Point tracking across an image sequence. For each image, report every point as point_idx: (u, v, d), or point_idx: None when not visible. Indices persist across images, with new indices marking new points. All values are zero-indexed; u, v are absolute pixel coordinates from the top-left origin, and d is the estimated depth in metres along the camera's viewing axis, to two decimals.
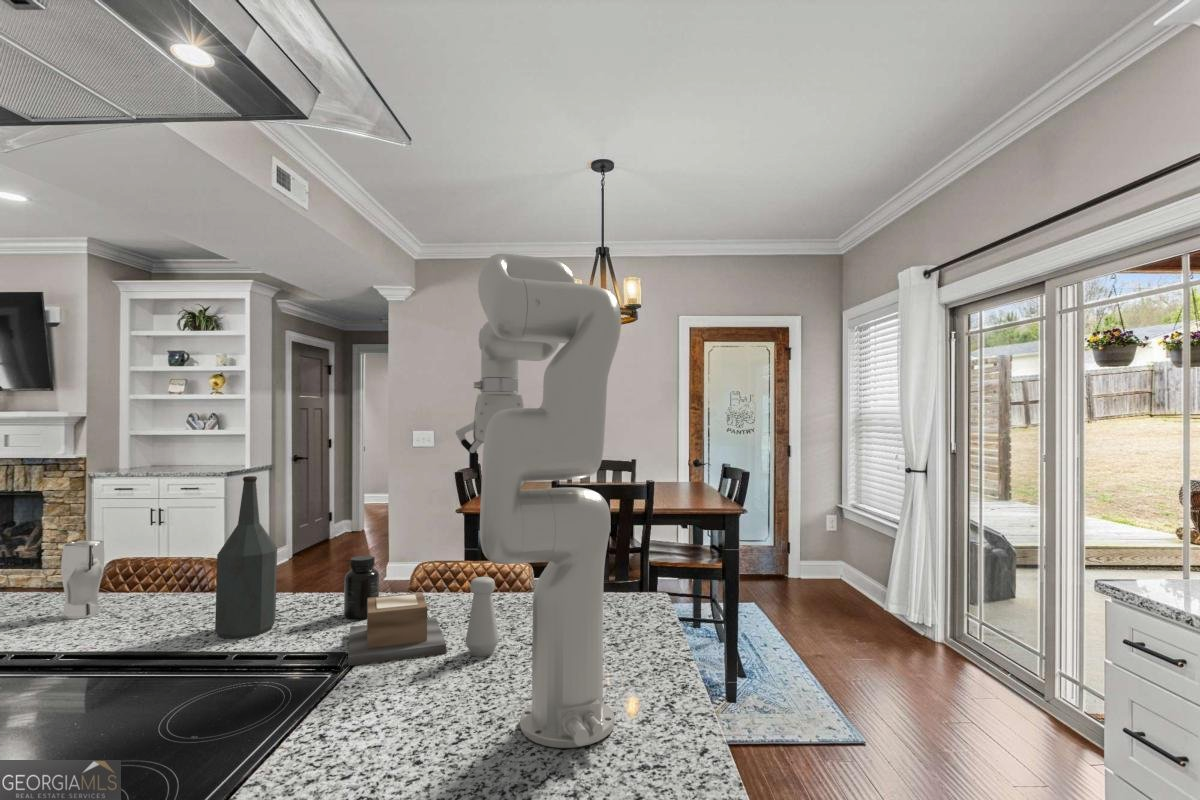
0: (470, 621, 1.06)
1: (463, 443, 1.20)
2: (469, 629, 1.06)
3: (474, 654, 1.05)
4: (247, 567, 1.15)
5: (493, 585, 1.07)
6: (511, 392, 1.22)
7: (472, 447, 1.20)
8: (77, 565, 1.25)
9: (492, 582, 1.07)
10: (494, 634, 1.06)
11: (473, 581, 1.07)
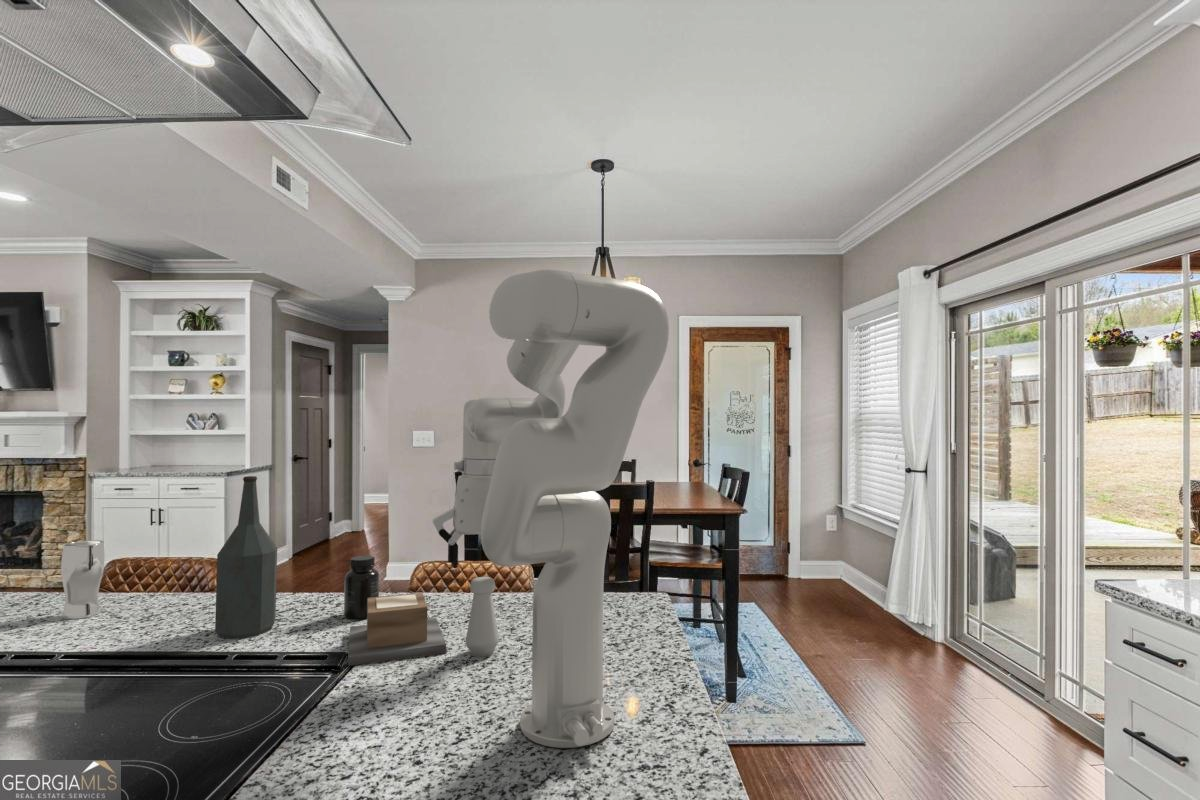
0: (470, 621, 1.06)
1: (441, 534, 1.05)
2: (469, 629, 1.06)
3: (474, 654, 1.05)
4: (247, 567, 1.15)
5: (493, 585, 1.07)
6: None
7: (451, 538, 1.05)
8: (77, 565, 1.25)
9: (492, 582, 1.07)
10: (494, 634, 1.06)
11: (473, 581, 1.07)
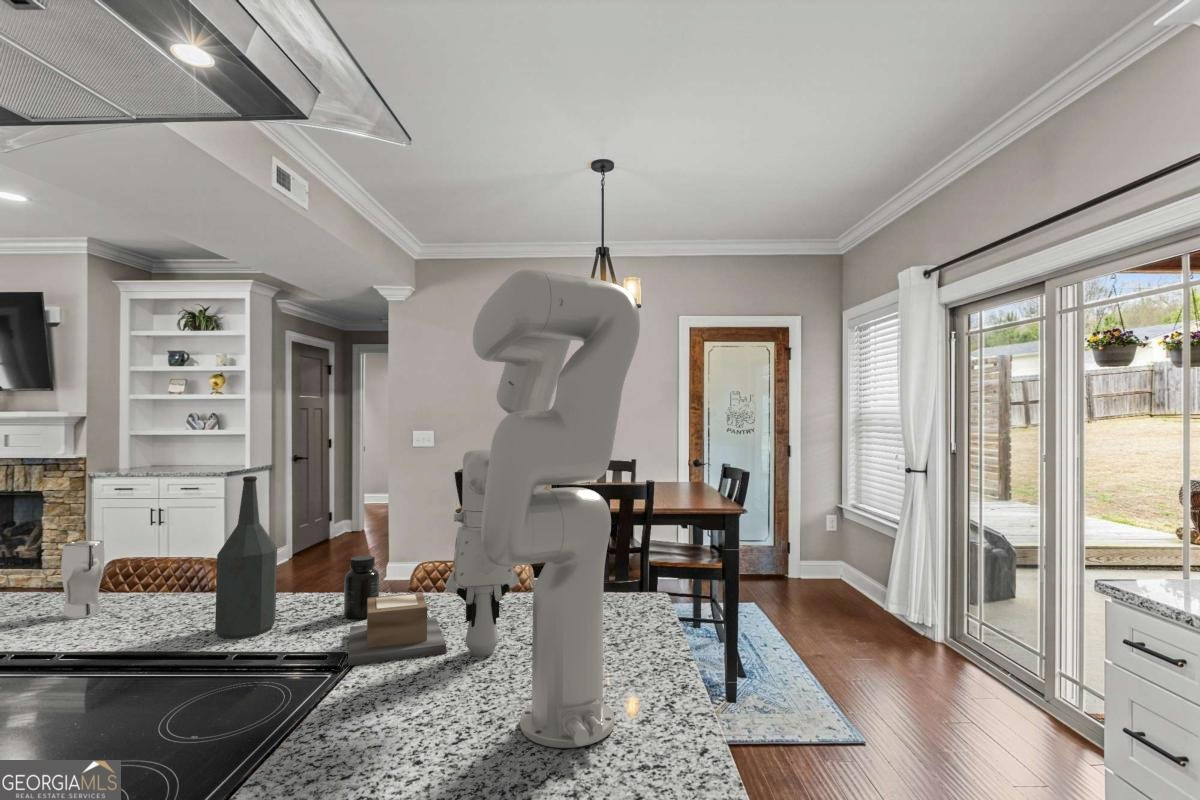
0: (470, 621, 1.06)
1: (459, 593, 1.05)
2: (469, 629, 1.06)
3: (474, 654, 1.05)
4: (247, 567, 1.15)
5: (493, 585, 1.07)
6: None
7: (467, 598, 1.05)
8: (77, 565, 1.25)
9: None
10: (493, 634, 1.06)
11: None
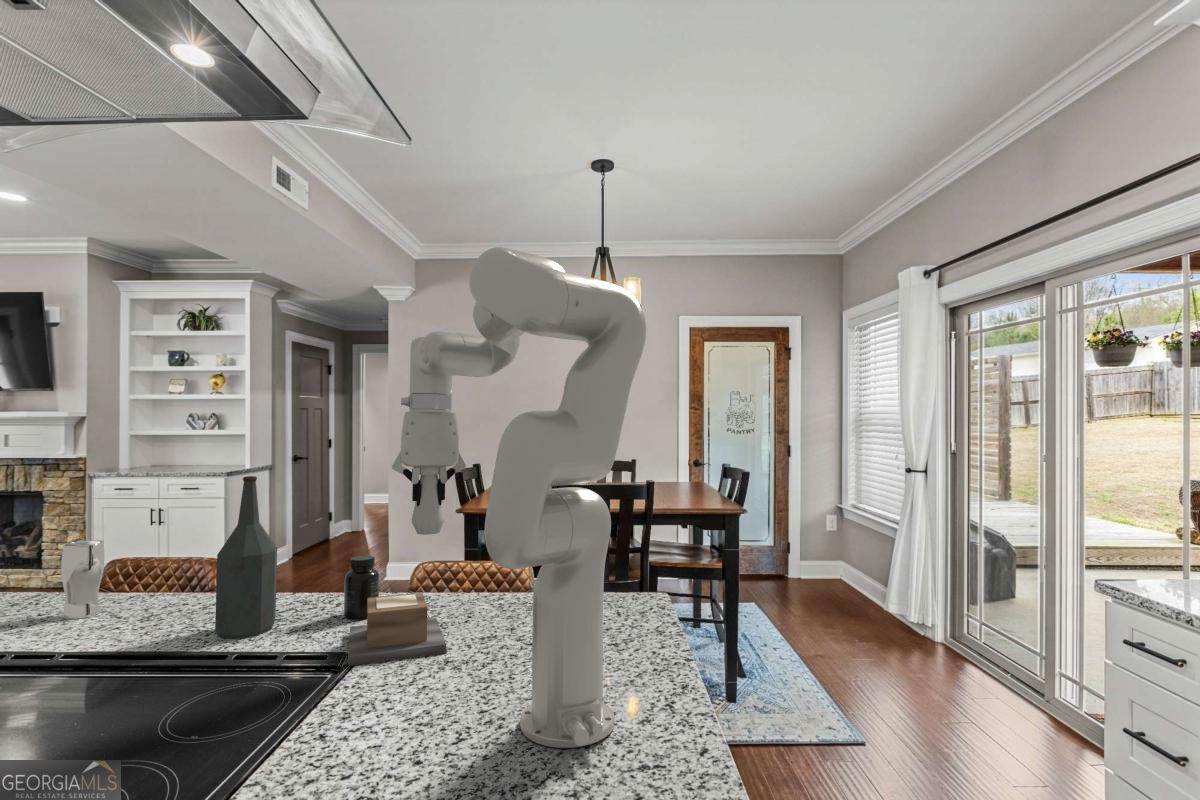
0: (416, 501, 1.10)
1: (405, 473, 1.09)
2: (415, 508, 1.10)
3: (419, 532, 1.09)
4: (247, 567, 1.15)
5: None
6: (442, 410, 1.09)
7: (413, 478, 1.09)
8: (77, 565, 1.25)
9: None
10: (438, 513, 1.10)
11: None
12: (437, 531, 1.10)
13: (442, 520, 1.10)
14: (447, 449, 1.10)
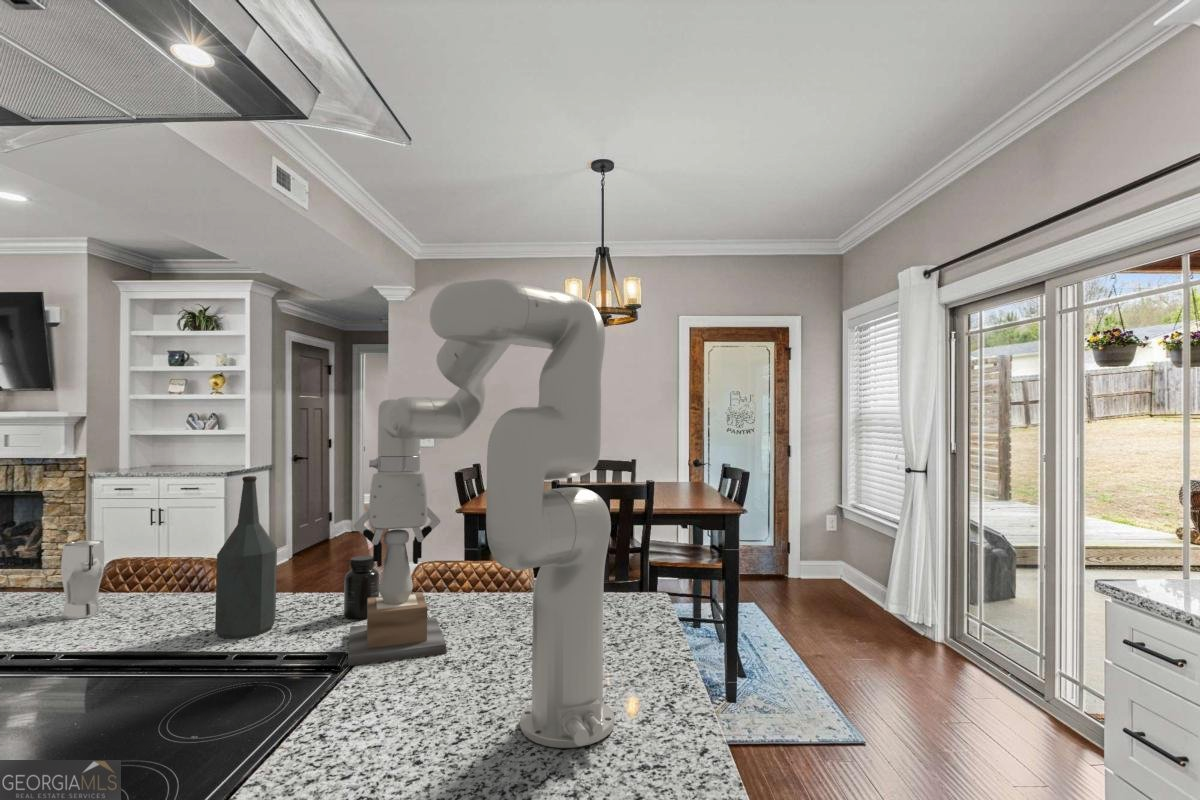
0: (383, 571, 1.10)
1: (365, 534, 1.09)
2: (382, 578, 1.10)
3: (387, 602, 1.10)
4: (246, 567, 1.15)
5: (406, 536, 1.11)
6: (409, 472, 1.10)
7: (374, 539, 1.09)
8: (77, 565, 1.25)
9: (405, 534, 1.11)
10: (406, 583, 1.10)
11: (387, 533, 1.11)
12: (405, 600, 1.11)
13: (410, 589, 1.11)
14: (415, 510, 1.11)
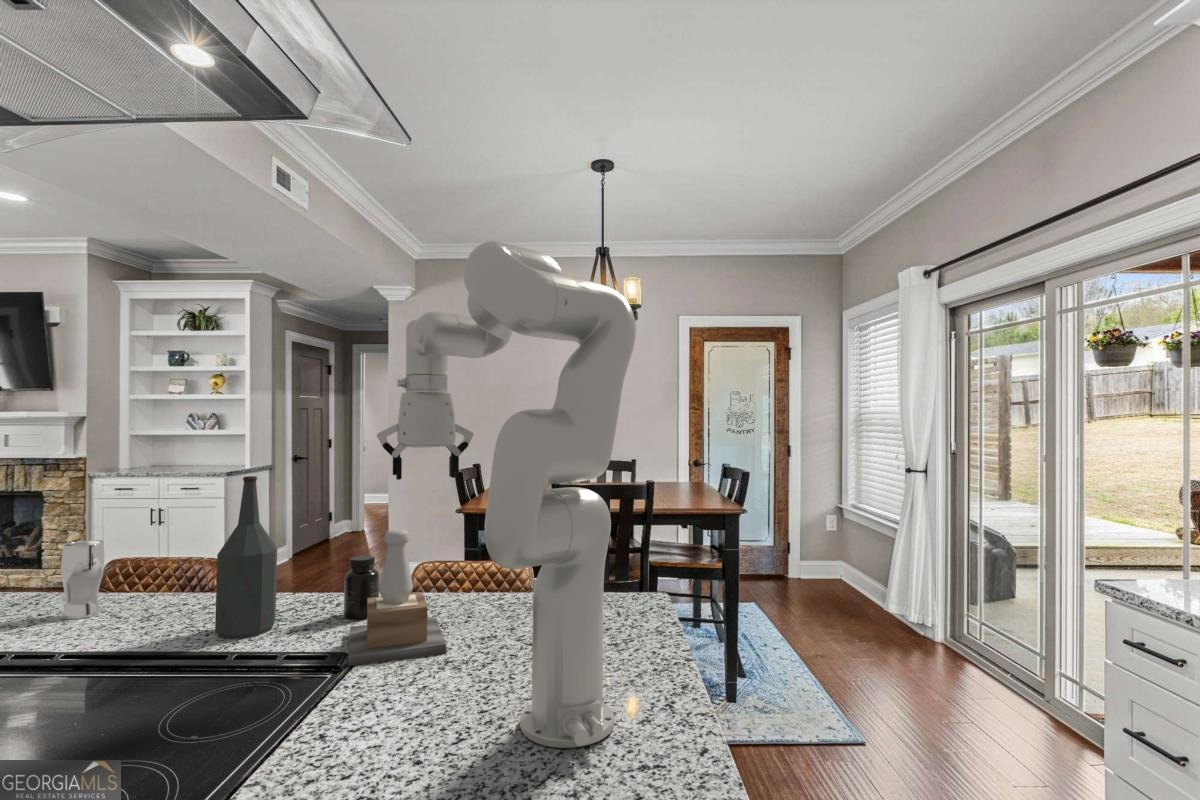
0: (383, 571, 1.10)
1: (385, 447, 1.09)
2: (382, 578, 1.10)
3: (387, 602, 1.10)
4: (247, 567, 1.15)
5: (406, 536, 1.11)
6: (438, 390, 1.11)
7: (395, 451, 1.09)
8: (77, 565, 1.25)
9: (405, 534, 1.11)
10: (406, 583, 1.10)
11: (387, 532, 1.11)
12: (405, 600, 1.11)
13: (410, 589, 1.11)
14: (444, 429, 1.11)
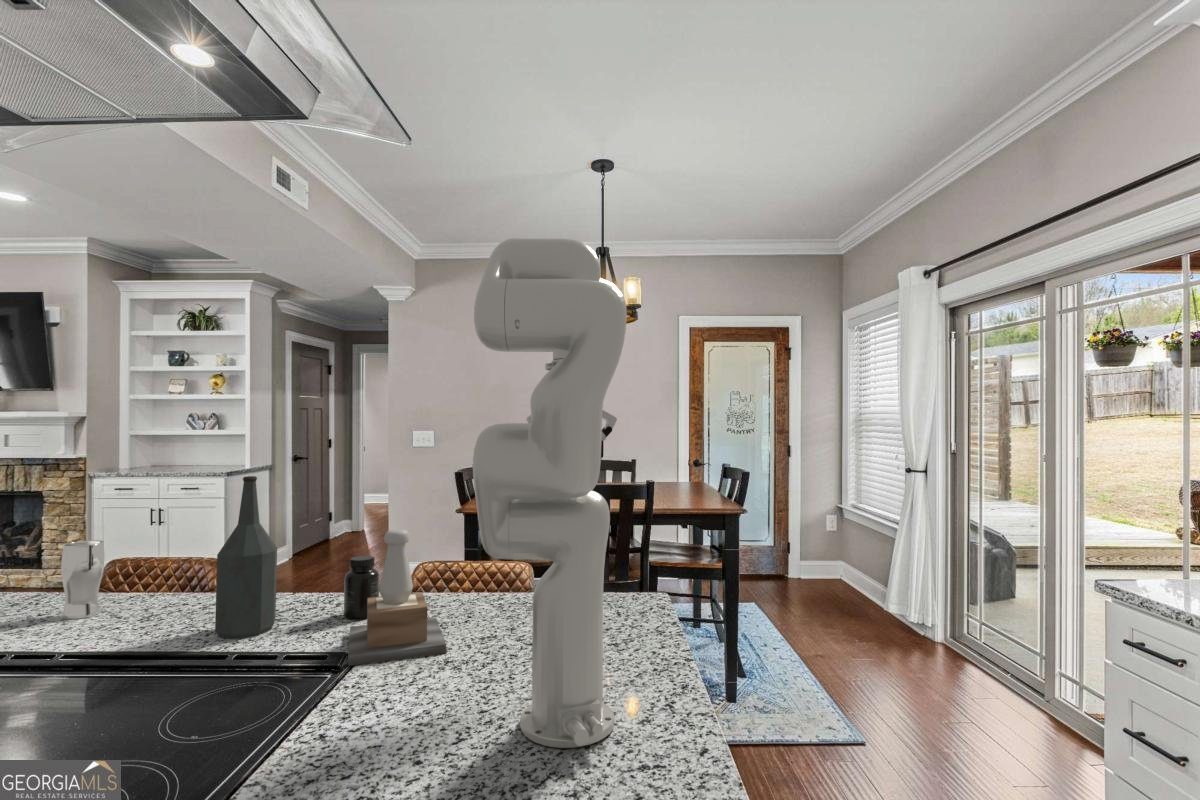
0: (383, 571, 1.10)
1: None
2: (382, 578, 1.10)
3: (387, 602, 1.10)
4: (247, 567, 1.15)
5: (406, 536, 1.11)
6: None
7: None
8: (77, 565, 1.25)
9: (405, 534, 1.11)
10: (406, 583, 1.10)
11: (387, 532, 1.11)
12: (405, 600, 1.11)
13: (410, 589, 1.11)
14: None
